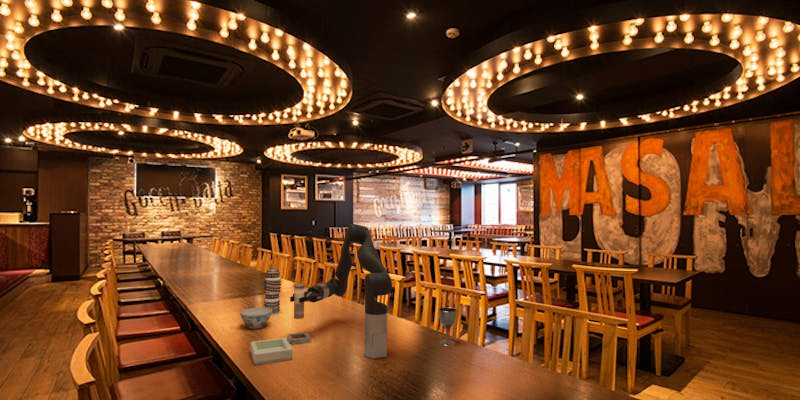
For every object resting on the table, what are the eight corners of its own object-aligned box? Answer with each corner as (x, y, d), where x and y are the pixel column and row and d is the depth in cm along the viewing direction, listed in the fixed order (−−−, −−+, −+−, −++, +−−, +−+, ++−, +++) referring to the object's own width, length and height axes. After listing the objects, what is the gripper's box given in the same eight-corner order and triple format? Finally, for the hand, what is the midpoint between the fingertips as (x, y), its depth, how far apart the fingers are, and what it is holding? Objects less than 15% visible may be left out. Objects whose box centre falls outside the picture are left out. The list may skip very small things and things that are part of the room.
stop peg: (305, 318, 178) (306, 284, 178) (294, 319, 175) (294, 285, 176) (303, 315, 182) (303, 283, 182) (292, 316, 180) (292, 283, 180)
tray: (292, 359, 156) (292, 349, 156) (254, 365, 150) (254, 354, 150) (285, 346, 170) (285, 337, 170) (250, 351, 164) (250, 341, 164)
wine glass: (459, 343, 178) (460, 309, 179) (449, 347, 172) (449, 312, 173) (445, 339, 184) (445, 306, 184) (435, 343, 178) (435, 309, 178)
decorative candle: (260, 315, 221) (261, 270, 221) (268, 311, 230) (269, 267, 230) (275, 316, 219) (276, 270, 220) (283, 312, 228) (284, 268, 229)
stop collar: (311, 342, 176) (311, 337, 177) (290, 345, 172) (290, 340, 172) (306, 336, 185) (306, 332, 185) (286, 338, 181) (286, 334, 181)
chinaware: (234, 326, 199) (234, 311, 199) (262, 320, 210) (262, 306, 210) (248, 333, 188) (249, 316, 189) (277, 326, 199) (277, 311, 200)
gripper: (306, 283, 195) (282, 290, 179) (330, 286, 189) (308, 293, 174) (306, 299, 195) (282, 306, 179) (330, 302, 189) (308, 310, 173)
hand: (295, 299), depth 176 cm, fingers closed on stop peg, 4 cm apart
